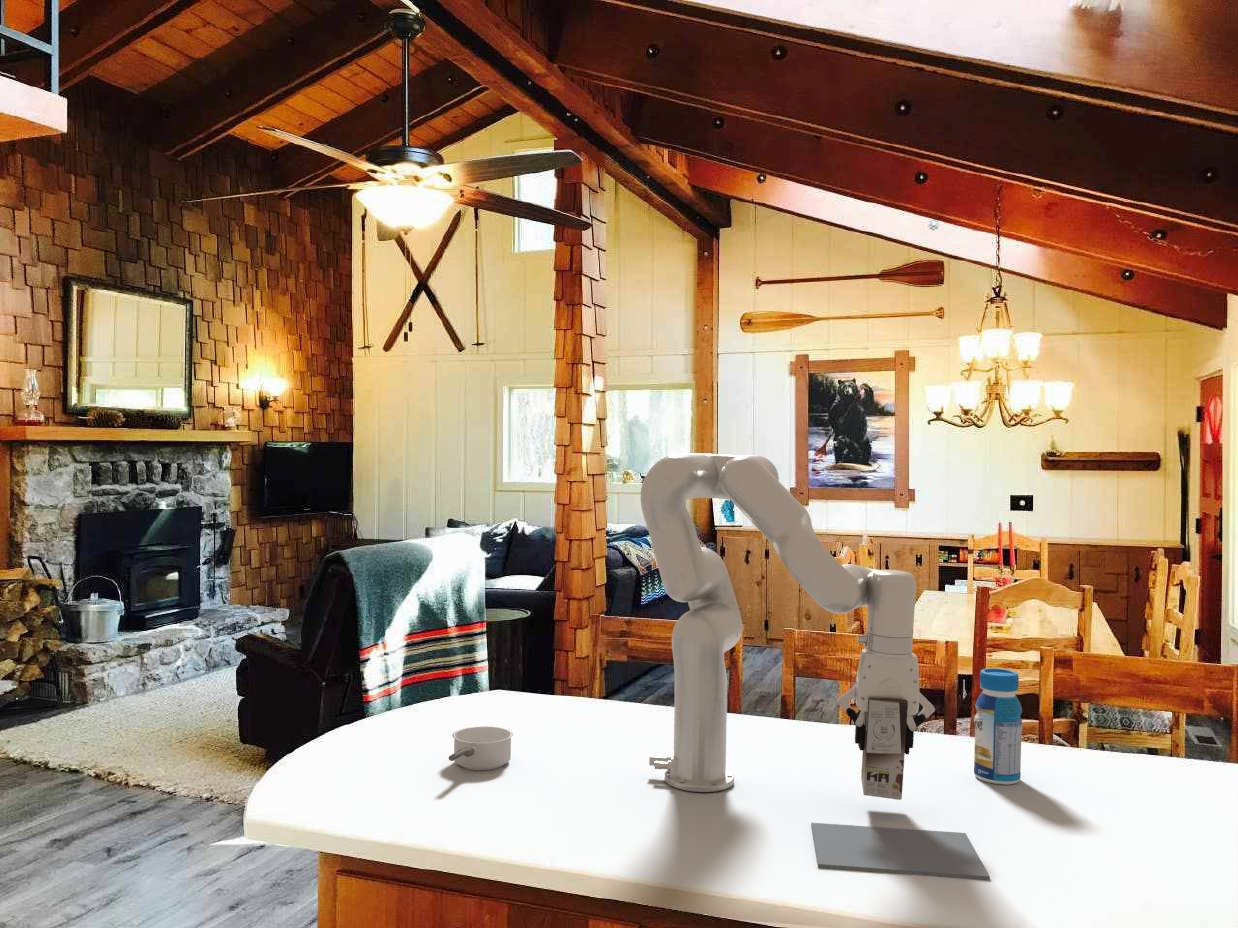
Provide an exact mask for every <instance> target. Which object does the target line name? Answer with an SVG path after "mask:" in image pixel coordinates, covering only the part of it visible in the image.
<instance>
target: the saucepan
mask: <svg viewBox="0 0 1238 928" xmlns="http://www.w3.org/2000/svg"><path fill="white" fill-rule="evenodd" d="M513 736H514V733H513V731H511V730H510V729H507V728H505V727H500V726H489V725H479V726H477V725H476V726H469V727H465V728H464V727H463V728H461V729H458V730H456V731H454V732H453V733H452V738H453V739H454V745H453V746H454V747H453V753H452V754H451V755H449V756H448V760H449V761H451V762H455V763H456V764H457V765H459V766H461V767H462V768H464V769H467V770H471V771H487V770H488V771H489V770H495V769H498V768H500V767H503V765H505V764H507V763H509V762H510V760H511V756H512V755H511V754H512V753H511V752H512V751H511V750H512V737H513Z"/></svg>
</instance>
